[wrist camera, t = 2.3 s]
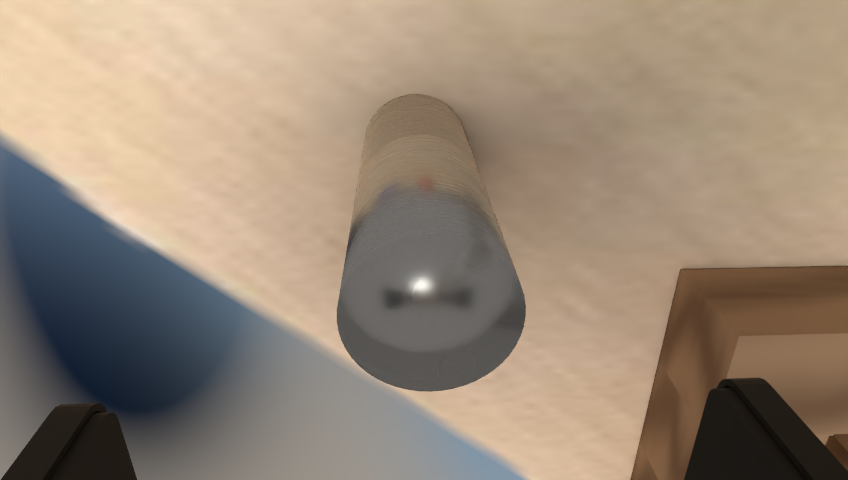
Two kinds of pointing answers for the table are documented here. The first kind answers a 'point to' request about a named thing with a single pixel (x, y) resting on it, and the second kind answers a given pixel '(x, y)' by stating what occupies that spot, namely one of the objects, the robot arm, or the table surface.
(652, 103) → the table surface
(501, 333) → the peg
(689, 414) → the socket block
